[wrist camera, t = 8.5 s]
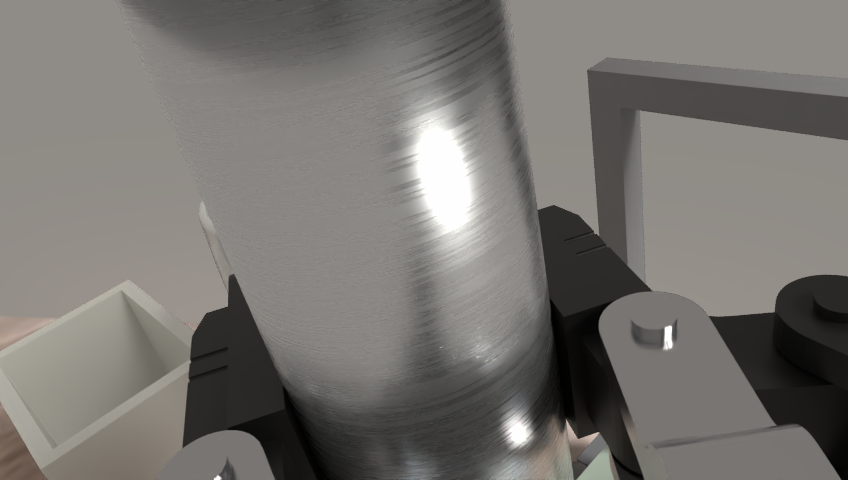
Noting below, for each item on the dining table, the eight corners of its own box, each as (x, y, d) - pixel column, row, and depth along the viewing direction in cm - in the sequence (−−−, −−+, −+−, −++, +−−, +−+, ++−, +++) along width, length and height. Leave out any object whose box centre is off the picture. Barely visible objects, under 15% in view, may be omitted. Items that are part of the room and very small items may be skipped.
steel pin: (492, 524, 16) (307, -227, 8) (672, 650, 13) (650, -360, 5) (349, 685, 14) (-103, -161, 6) (530, 888, 11) (81, -337, 3)
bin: (192, 399, 36) (128, 279, 32) (283, 485, 30) (218, 350, 25) (68, 485, 32) (-23, 363, 28) (142, 603, 26) (40, 470, 22)
